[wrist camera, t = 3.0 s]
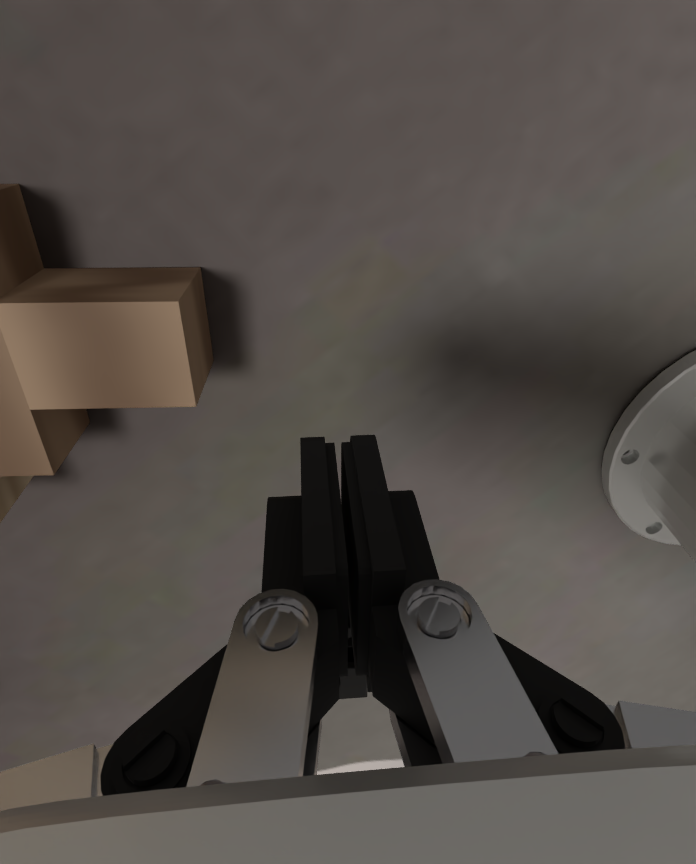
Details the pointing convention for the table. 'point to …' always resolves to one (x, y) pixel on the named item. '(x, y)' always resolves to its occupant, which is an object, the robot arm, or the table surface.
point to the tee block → (87, 344)
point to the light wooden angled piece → (11, 491)
